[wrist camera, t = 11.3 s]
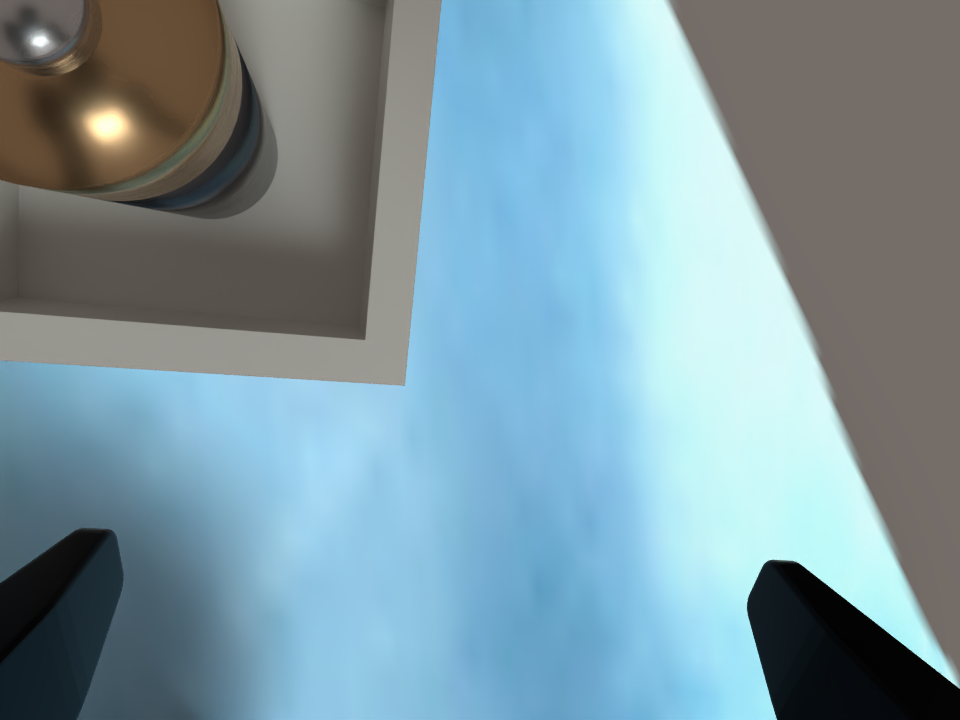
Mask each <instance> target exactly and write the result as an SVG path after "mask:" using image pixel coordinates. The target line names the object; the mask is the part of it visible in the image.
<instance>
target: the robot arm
mask: <svg viewBox="0 0 960 720" xmlns="http://www.w3.org/2000/svg"><path fill="white" fill-rule="evenodd" d="M122 586H123V568H122V563H121V558H120V552H119V547H118V542H117V537H116V534H115V533H114V532H113V531H112V530H109V529H97V528H81V529H78V530H76V531H74V532H72V533H71V534H69V535H68V536H66V537H65V538H64V539H62V540H61V541H59V542H58V543H56V544H55V545H54V546H52V547H51V548H49V549H48V550H47V551H45V552H44V553H42V554H41V555H39V556H38V557H37V558H35V559H34V560H32V561H31V562H30V563H28V564H27V565H25V566H24V567H22V568H21V569H20V570H18V571H17V572H15V573H14V574H13V575H11V576H10V577H8V578H7V579H5V580H4V581H3V582H1V583H0V720H77V718H78V716H79V713H80V711H81V709H82V706H83V703H84V701H85V698H86V695H87V692H88V690H89V687H90V684H91V681H92V678H93V675H94V672H95V669H96V666H97V663H98V660H99V657H100V654H101V651H102V648H103V645H104V642H105V639H106V636H107V633H108V630H109V627H110V624H111V621H112V618H113V615H114V612H115V609H116V606H117V603H118V600H119V597H120V594H121V591H122ZM747 612H748V617H749V621H750V625H751V628H752V632H753V636H754V639H755V643H756V647H757V650H758V654H759V658H760V661H761V665H762V669H763V672H764V676H765V680H766V683H767V687H768V691H769V694H770V698H771V702H772V705H773V708H774V711H775V715H776V718H777V720H960V689H959V688H958V687H957V686H955V685H954V684H953V683H952V682H950V681H949V680H948V679H946V678H945V677H944V676H943V675H941V674H940V673H939V672H937V671H936V670H935V669H934V668H932V667H931V666H930V665H929V664H927V663H926V662H925V661H923V660H922V659H921V658H920V657H918V656H917V655H916V654H914V653H913V652H912V651H911V650H909V649H908V648H907V647H906V646H904V645H903V644H902V643H900V642H899V641H898V640H897V639H895V638H894V637H893V636H891V635H890V634H889V633H888V632H886V631H885V630H884V629H883V628H881V627H880V626H879V625H877V624H876V623H875V622H874V621H872V620H871V619H870V618H868V617H867V616H866V615H865V614H863V613H862V612H861V611H860V610H858V609H857V608H856V607H854V606H853V605H852V604H851V603H849V602H848V601H847V600H845V599H844V598H843V597H842V596H840V595H839V594H838V593H836V592H835V591H834V590H833V589H831V588H830V587H829V586H828V585H826V584H825V583H824V582H822V581H821V580H820V579H819V578H817V577H816V576H815V575H813V574H812V573H811V572H810V571H808V570H807V569H806V568H805V567H803V566H802V565H800V564H799V563H797V562H794V561H786V560H769V561H767V562H766V563H765V564H764V565H763V567H762V569H761V571H760V573H759V575H758V577H757V580H756V582H755V584H754V586H753V588H752V590H751V592H750V595H749V597H748V602H747Z"/></svg>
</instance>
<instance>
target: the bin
mask: <svg viewBox="0 0 960 720" xmlns="http://www.w3.org/2000/svg"><path fill="white" fill-rule="evenodd" d="M218 1H219V3H220V5H221V8H222V10H223V12H224V15H225V17H226V19H227V22H228V24H229V26H230V29H231V31H232V34H233V36H234V38H235V41H236V43H237V45H238V48H239V50H240V52H241V55H242V57H243V59H244V62H245V64H246V67H247V69H248V71H249V74H250V76H251V78H252V81H253V83H254V85H255V88H256V90H257V92H258V95H259V97H260V99H261V102H262V104H263V107H264V109H265V111H266V114H267V116H268V118H269V121H270V123H271V125H272V128H273V130H274V133H275V137H276V141H277V148H278V161H277V168H276V172H275V176H274V178H273V181H272V183H271V185H270V187H269V189H268V190H267V192H266V193H265V194H264V196H263V197H262V198H261V199H260V200H259V201H258V202H257V203H256V204H255V205H253V206H252V207H250V208H249V209H247V210H246V211H244V212H242V213H240V214H237V215H234V216H231V217H227V218H222V219H202V218H195V217H190V216H185V215H179V214H174V213H168V212H163V211H158V210H152V209H147V208H142V207H136V206H131V205H125V204H120V203H115V202H109V201H104V200H99V199H93V198H88V197H82V196H77V195H72V194H66V193H61V192H56V191H50V190H45V189H39V188H34V187H29V186H23V185H18V184H13V183H10V182H6V181H2V180H0V360H3V361H19V362H35V363H51V364H67V365H83V366H99V367H115V368H131V369H146V370H162V371H178V372H194V373H210V374H226V375H242V376H258V377H274V378H290V379H306V380H322V381H338V382H354V383H370V384H386V385H402V386H405V378H406V367H407V357H408V346H409V336H410V325H411V315H412V304H413V294H414V283H415V273H416V263H417V252H418V242H419V231H420V221H421V210H422V200H423V189H424V179H425V168H426V158H427V147H428V137H429V126H430V116H431V105H432V95H433V84H434V74H435V63H436V53H437V42H438V32H439V21H440V11H441V0H218Z"/></svg>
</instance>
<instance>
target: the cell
mask: <svg viewBox="0 0 960 720" xmlns="http://www.w3.org/2000/svg"><path fill="white" fill-rule="evenodd" d="M277 161H278V148H277V141H276V137H275V133H274V130H273V128H272V125H271V123H270V121H269V118H268V116H267V114H266V111H265V109H264V107H263V104H262V102H261V99H260V97H259V95H258V92H257V90H256V88H255V85H254V83H253V81H252V78H251V76H250V74H249V71H248V69H247V67H246V64H245V62H244V59H243V57H242V55H241V52H240V50H239V48H238V45H237V43H236V41H235V38H234V36H233V34H232V31H231V29H230V26H229V24H228V22H227V19H226V17H225V15H224V12H223V10H222V8H221V5H220V3H219V1H218V0H0V180H2V181H6V182H10V183H13V184H18V185H23V186H29V187H34V188H39V189H45V190H50V191H56V192H61V193H66V194H72V195H77V196H82V197H88V198H93V199H99V200H104V201H109V202H115V203H120V204H125V205H131V206H136V207H142V208H147V209H152V210H158V211H163V212H168V213H174V214H179V215H185V216H190V217H195V218H202V219H222V218H227V217H231V216H234V215H237V214H240V213H242V212H244V211H246V210H247V209H249V208H250V207H252V206H253V205H255V204H256V203H257V202H258V201H259V200H260V199H261V198H262V197H263V196H264V194H265V193H266V192H267V190H268V189H269V187H270V185H271V183H272V181H273V178H274V176H275V172H276V168H277Z"/></svg>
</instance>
